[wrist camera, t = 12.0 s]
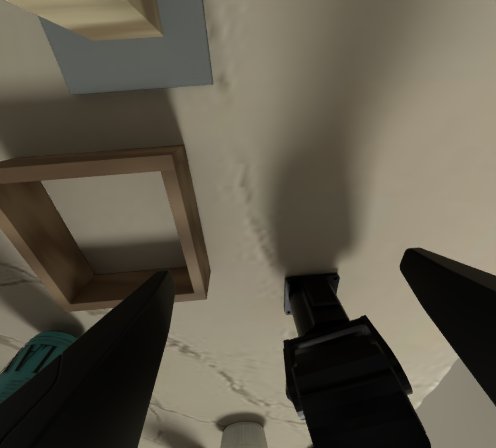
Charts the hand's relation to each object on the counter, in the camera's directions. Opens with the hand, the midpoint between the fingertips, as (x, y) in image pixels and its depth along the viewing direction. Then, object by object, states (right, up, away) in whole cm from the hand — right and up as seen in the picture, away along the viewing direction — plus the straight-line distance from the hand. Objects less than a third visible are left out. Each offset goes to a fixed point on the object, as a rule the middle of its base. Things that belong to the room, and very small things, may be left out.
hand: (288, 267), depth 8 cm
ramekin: (-3, -46, +41) cm, 62 cm away
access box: (-13, +2, +13) cm, 18 cm away
